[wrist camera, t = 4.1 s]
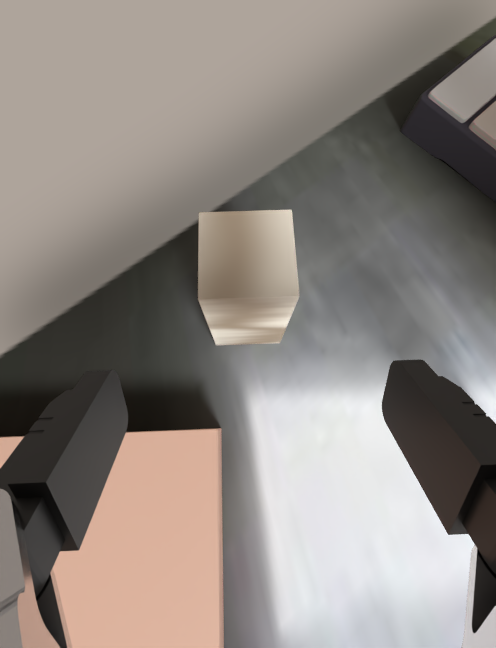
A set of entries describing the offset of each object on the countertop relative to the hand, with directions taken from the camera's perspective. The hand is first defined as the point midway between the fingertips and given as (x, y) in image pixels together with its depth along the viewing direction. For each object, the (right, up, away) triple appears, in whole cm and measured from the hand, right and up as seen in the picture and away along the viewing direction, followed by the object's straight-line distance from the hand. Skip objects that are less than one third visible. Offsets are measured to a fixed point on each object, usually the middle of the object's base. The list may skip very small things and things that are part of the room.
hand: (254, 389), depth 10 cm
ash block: (0, +3, +14) cm, 14 cm away
